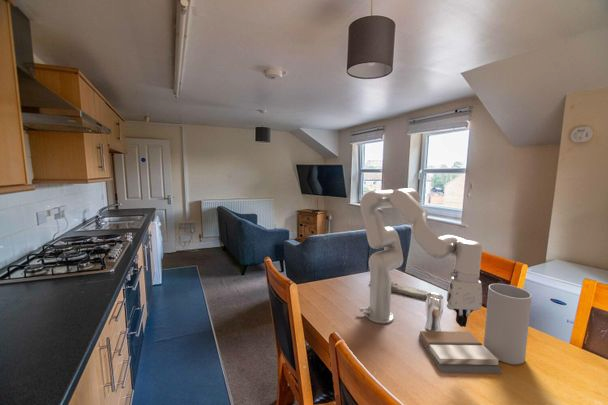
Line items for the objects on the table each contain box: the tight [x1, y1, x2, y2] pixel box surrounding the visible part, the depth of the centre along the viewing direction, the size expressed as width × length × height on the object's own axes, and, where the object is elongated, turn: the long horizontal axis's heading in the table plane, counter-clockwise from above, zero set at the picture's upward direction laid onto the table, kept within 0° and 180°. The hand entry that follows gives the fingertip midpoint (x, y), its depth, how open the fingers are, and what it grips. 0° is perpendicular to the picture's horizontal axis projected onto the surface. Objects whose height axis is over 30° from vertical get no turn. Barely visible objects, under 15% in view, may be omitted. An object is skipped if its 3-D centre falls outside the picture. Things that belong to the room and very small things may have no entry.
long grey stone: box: [391, 280, 429, 301], centre depth 153 cm, size 35×5×10 cm
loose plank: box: [430, 344, 499, 366], centre depth 96 cm, size 20×8×2 cm, turn 89°
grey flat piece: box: [418, 330, 502, 374], centre depth 100 cm, size 20×19×4 cm
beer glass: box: [425, 292, 444, 331], centre depth 115 cm, size 7×7×15 cm
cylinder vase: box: [483, 283, 533, 365], centre depth 99 cm, size 12×12×25 cm
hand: (460, 324), depth 95 cm, fingers closed
